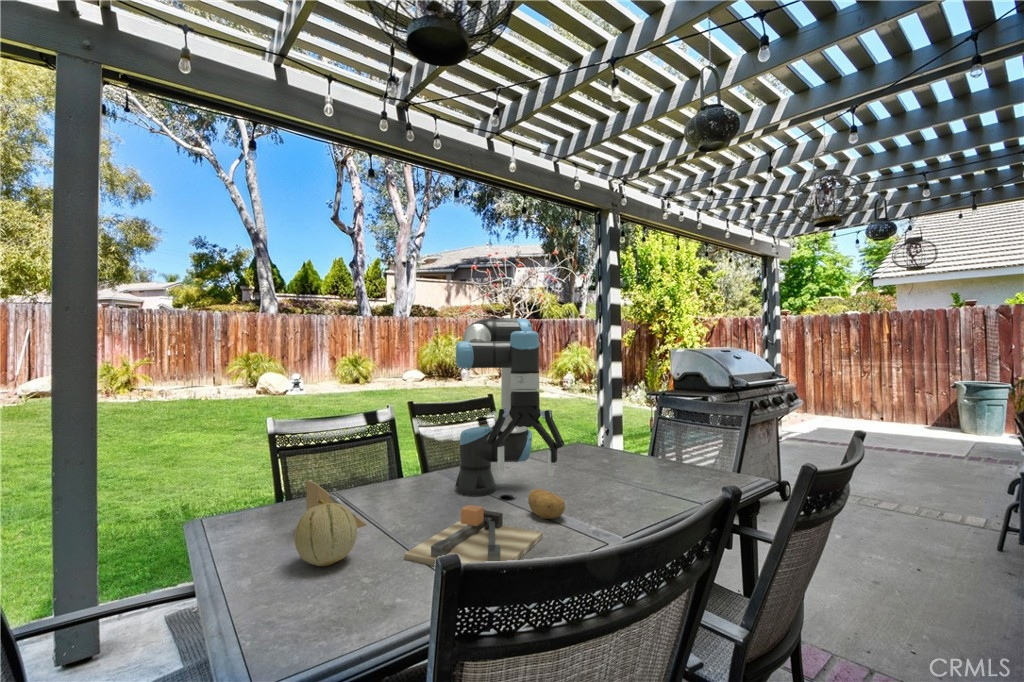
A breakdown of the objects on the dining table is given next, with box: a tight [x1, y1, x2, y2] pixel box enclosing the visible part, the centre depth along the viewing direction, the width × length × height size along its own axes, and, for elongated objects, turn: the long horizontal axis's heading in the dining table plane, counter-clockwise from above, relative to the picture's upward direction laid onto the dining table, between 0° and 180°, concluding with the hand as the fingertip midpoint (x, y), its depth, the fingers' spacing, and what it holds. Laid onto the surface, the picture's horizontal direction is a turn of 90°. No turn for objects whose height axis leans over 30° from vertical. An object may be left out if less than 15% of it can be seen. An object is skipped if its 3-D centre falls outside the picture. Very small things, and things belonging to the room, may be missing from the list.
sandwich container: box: [306, 479, 368, 529], centre depth 145 cm, size 9×15×15 cm, turn 133°
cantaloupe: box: [293, 500, 358, 567], centre depth 121 cm, size 15×15×15 cm
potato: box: [528, 488, 566, 520], centre depth 154 cm, size 10×14×8 cm
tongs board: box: [403, 509, 544, 567], centre depth 130 cm, size 28×26×5 cm
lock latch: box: [460, 504, 485, 526], centre depth 138 cm, size 4×5×4 cm
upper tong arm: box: [485, 517, 500, 561], centre depth 129 cm, size 24×4×3 cm, turn 2°
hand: (525, 473), depth 126 cm, fingers open, 13 cm apart
